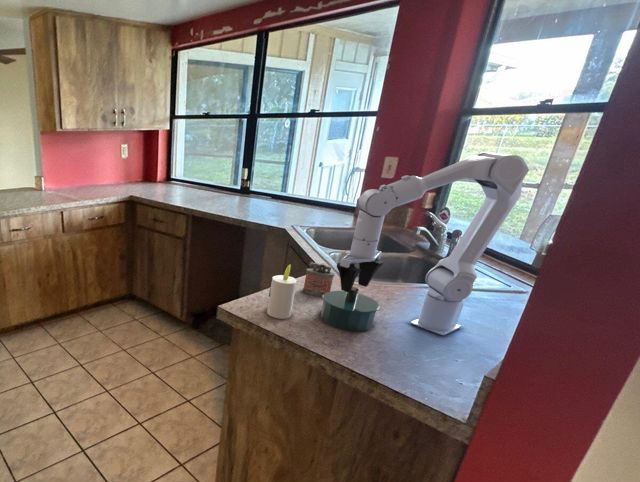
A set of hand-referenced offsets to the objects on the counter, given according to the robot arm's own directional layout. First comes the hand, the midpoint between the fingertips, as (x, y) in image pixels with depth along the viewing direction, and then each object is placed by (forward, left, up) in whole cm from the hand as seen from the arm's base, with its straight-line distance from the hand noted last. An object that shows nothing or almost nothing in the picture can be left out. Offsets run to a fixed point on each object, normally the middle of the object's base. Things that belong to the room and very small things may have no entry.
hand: (354, 288), depth 107 cm
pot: (0, 0, -10) cm, 10 cm away
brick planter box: (-9, -16, -10) cm, 21 cm away
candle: (+13, -12, -10) cm, 20 cm away
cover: (0, 0, -4) cm, 4 cm away
